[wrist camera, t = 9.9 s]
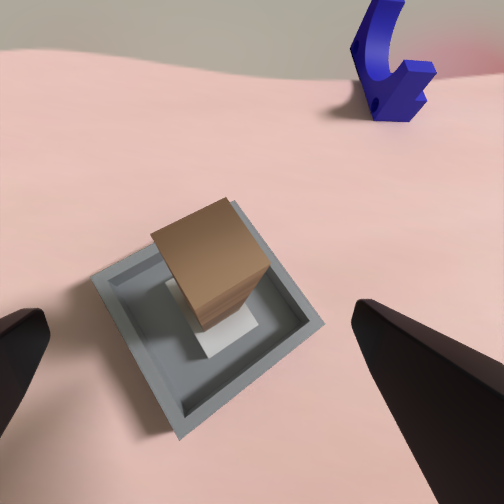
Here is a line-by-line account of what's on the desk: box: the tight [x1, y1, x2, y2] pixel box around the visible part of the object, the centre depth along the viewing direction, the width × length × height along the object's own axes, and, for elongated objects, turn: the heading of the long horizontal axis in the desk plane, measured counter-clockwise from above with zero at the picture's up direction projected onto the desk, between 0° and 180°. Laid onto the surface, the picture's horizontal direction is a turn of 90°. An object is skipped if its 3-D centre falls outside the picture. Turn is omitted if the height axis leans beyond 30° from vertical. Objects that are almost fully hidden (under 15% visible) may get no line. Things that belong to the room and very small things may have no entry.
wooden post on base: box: [150, 197, 271, 358], centre depth 14 cm, size 6×4×12 cm, turn 33°
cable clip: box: [350, 0, 437, 122], centre depth 30 cm, size 12×4×6 cm, turn 6°
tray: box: [90, 200, 325, 441], centre depth 20 cm, size 12×12×2 cm
